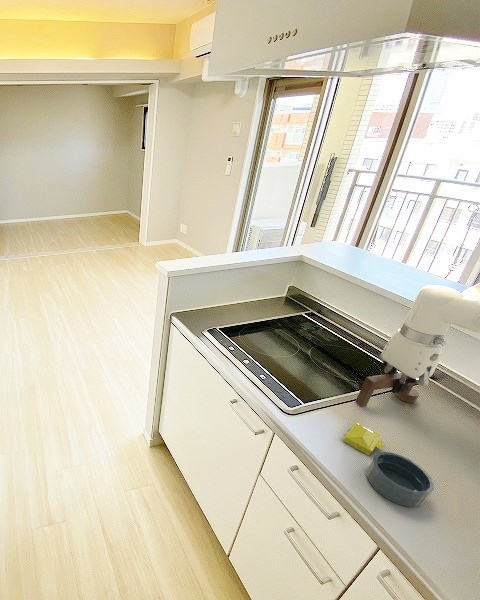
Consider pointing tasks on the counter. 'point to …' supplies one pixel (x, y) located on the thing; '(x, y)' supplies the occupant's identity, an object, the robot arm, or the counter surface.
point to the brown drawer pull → (382, 383)
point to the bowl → (399, 479)
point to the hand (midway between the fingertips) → (391, 387)
